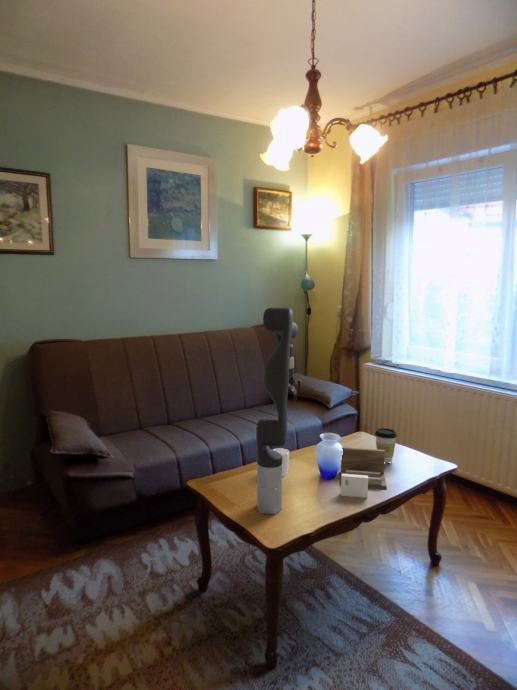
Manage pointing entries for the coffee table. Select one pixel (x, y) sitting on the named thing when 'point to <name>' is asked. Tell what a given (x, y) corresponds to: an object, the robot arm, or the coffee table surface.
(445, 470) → the coffee table surface
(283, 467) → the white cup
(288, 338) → the robot arm
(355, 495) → the white thin panel
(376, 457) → the base
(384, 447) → the coffee cup
